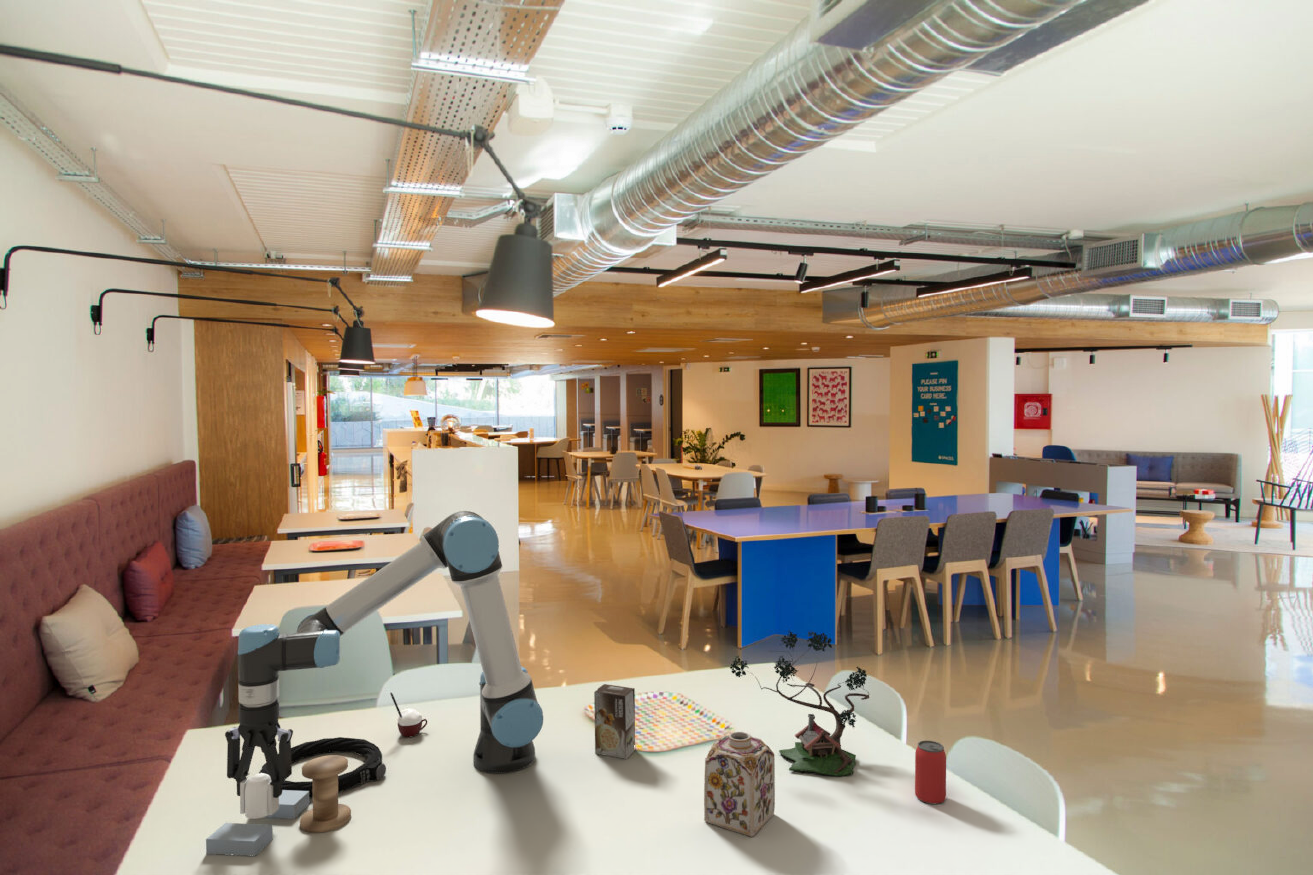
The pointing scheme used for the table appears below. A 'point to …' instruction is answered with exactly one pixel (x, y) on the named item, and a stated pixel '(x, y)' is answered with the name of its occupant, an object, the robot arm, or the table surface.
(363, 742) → the cable lock
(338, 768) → the knob
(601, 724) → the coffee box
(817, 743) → the bonsai tree
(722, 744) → the decorative jar
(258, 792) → the capsule
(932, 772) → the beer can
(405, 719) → the cocoa
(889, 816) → the table surface
